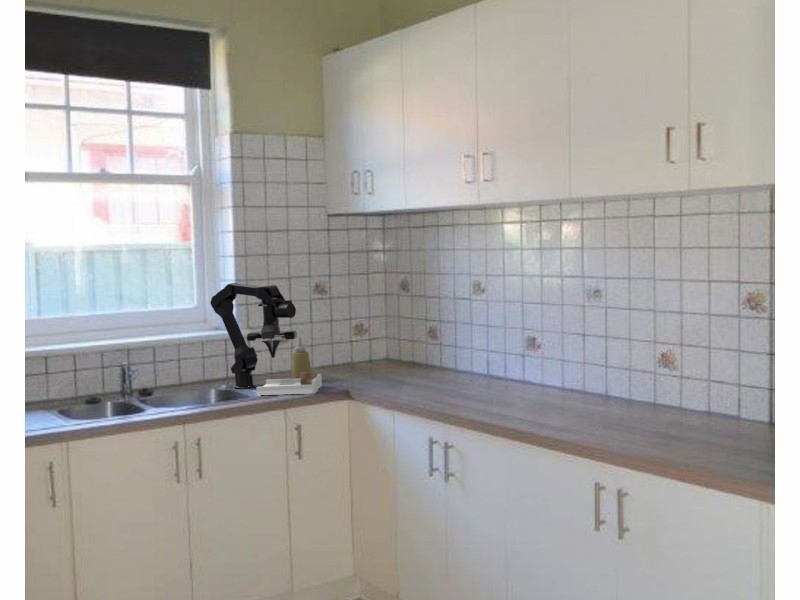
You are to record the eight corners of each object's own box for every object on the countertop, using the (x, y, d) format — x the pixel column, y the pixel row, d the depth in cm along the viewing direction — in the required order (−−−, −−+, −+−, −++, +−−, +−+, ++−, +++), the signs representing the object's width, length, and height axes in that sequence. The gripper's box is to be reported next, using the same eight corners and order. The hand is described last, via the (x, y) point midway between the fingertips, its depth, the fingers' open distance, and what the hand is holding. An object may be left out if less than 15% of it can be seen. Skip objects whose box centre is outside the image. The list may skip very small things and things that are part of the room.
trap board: (257, 396, 325) (256, 383, 325) (266, 388, 341) (265, 375, 340) (315, 394, 323) (314, 380, 323) (322, 386, 339) (321, 373, 339)
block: (300, 386, 329) (300, 373, 329) (303, 384, 334) (302, 371, 334) (313, 386, 329) (313, 373, 328) (316, 383, 334) (315, 371, 333)
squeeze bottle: (310, 383, 347) (308, 338, 346) (290, 384, 347) (288, 339, 346) (313, 379, 355) (310, 336, 354) (293, 380, 356) (290, 337, 354)
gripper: (242, 321, 328) (244, 361, 330) (290, 319, 327) (292, 360, 328) (249, 317, 340) (251, 357, 341) (296, 316, 338) (298, 355, 339)
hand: (273, 357), depth 337 cm, fingers closed
